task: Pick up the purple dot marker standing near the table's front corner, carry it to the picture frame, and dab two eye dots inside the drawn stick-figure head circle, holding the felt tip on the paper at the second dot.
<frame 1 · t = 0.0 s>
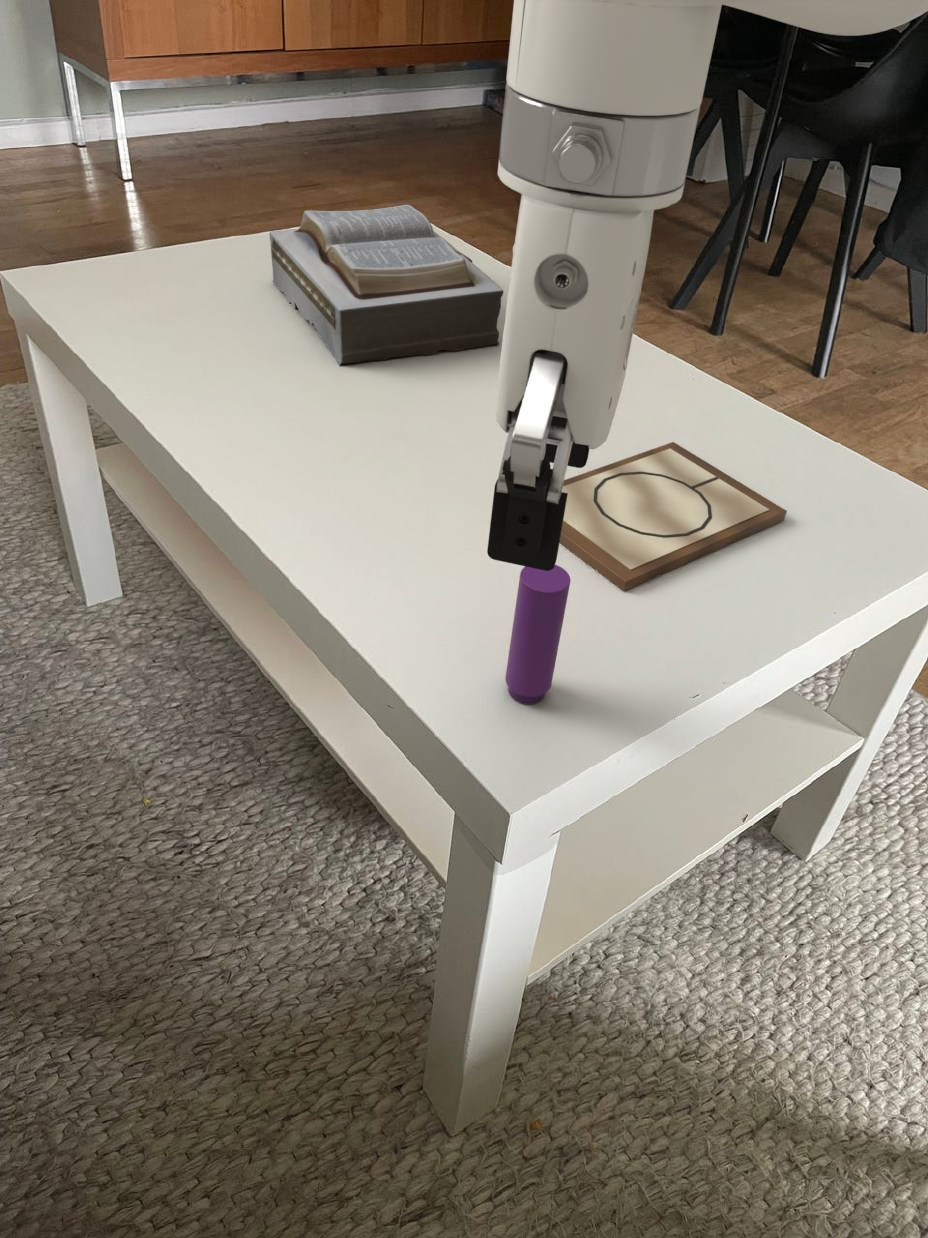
hand: (540, 507, 51), 20 cm above the table, tool pointing down, fingers open, 9 cm apart
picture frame: (649, 513, 89), on the table
bible: (381, 314, 118), on the table
marker: (526, 691, 70), on the table
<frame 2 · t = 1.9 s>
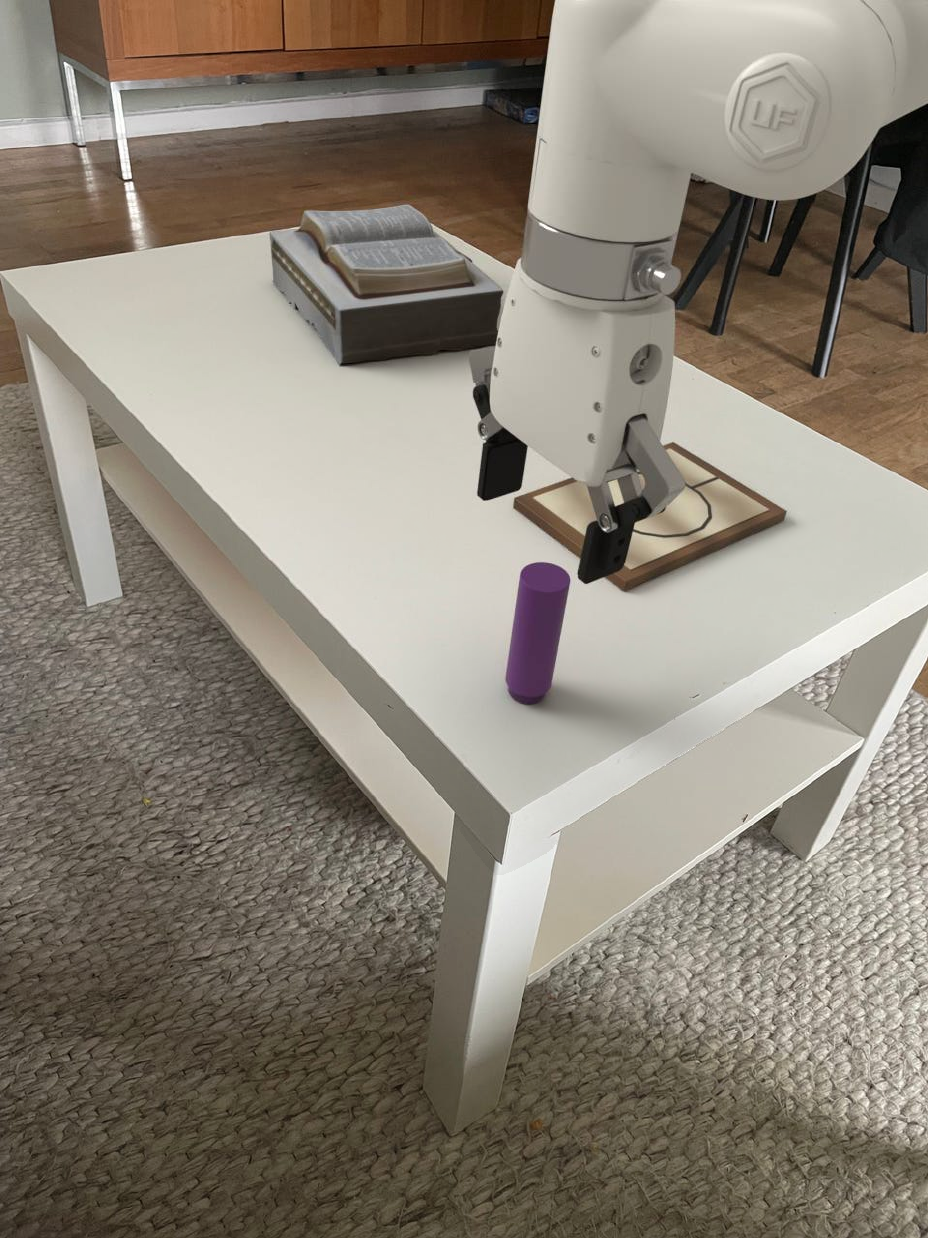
hand: (547, 532, 62), 13 cm above the table, tool pointing down, fingers open, 9 cm apart
nothing on the table moved.
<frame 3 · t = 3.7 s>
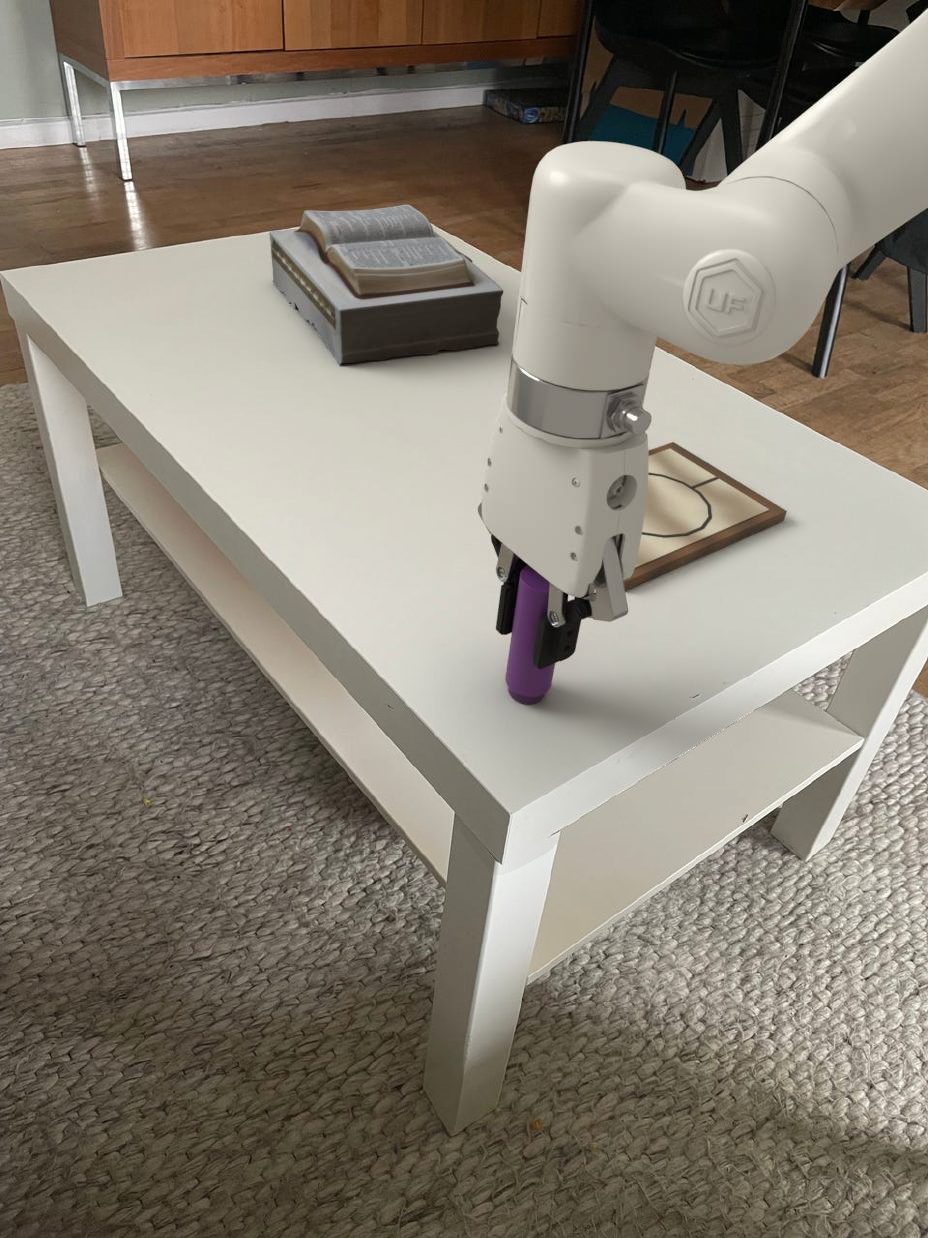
hand: (534, 641, 67), 5 cm above the table, tool pointing down, fingers closed on marker, 3 cm apart
marker: (526, 691, 70), on the table, touching gripper
everything else where it was.
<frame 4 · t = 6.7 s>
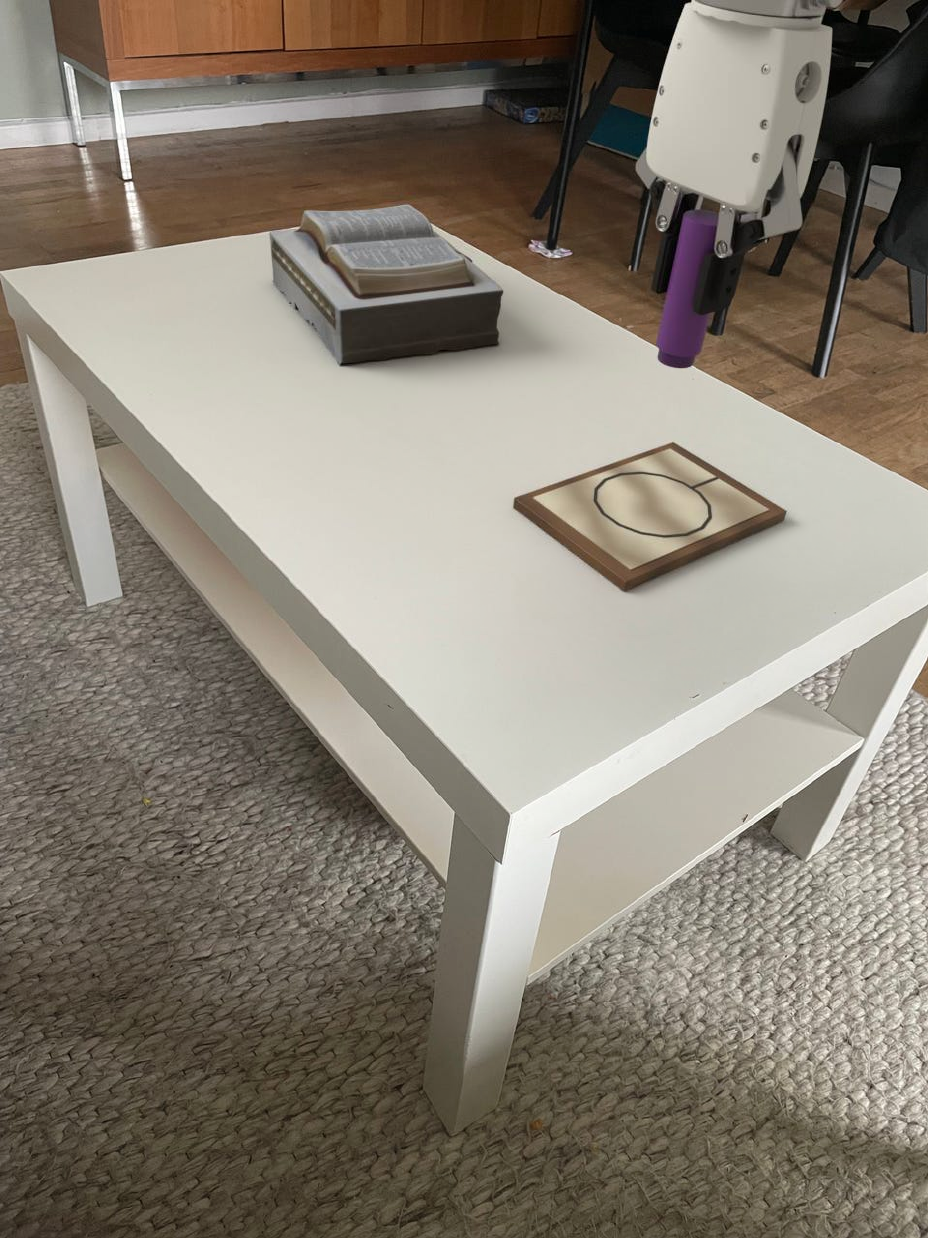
hand: (690, 297, 69), 22 cm above the table, tool pointing down, fingers closed on marker, 3 cm apart
marker: (675, 360, 72), point 18 cm above the table, touching gripper
everything else where it was.
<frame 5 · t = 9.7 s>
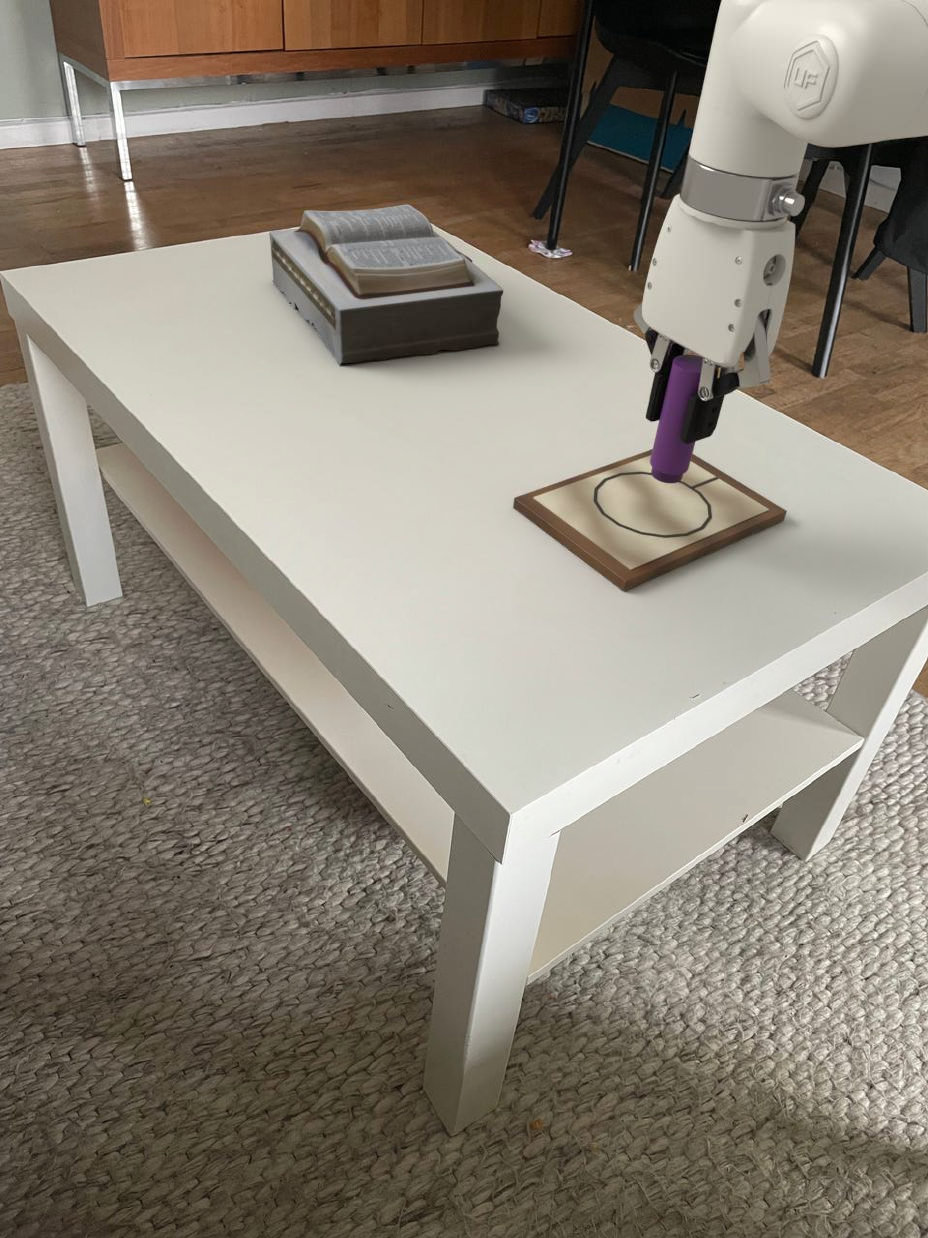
hand: (678, 425, 81), 10 cm above the table, tool pointing down, fingers closed on marker, 3 cm apart
marker: (666, 475, 83), point 5 cm above the table, touching gripper
everything else where it was.
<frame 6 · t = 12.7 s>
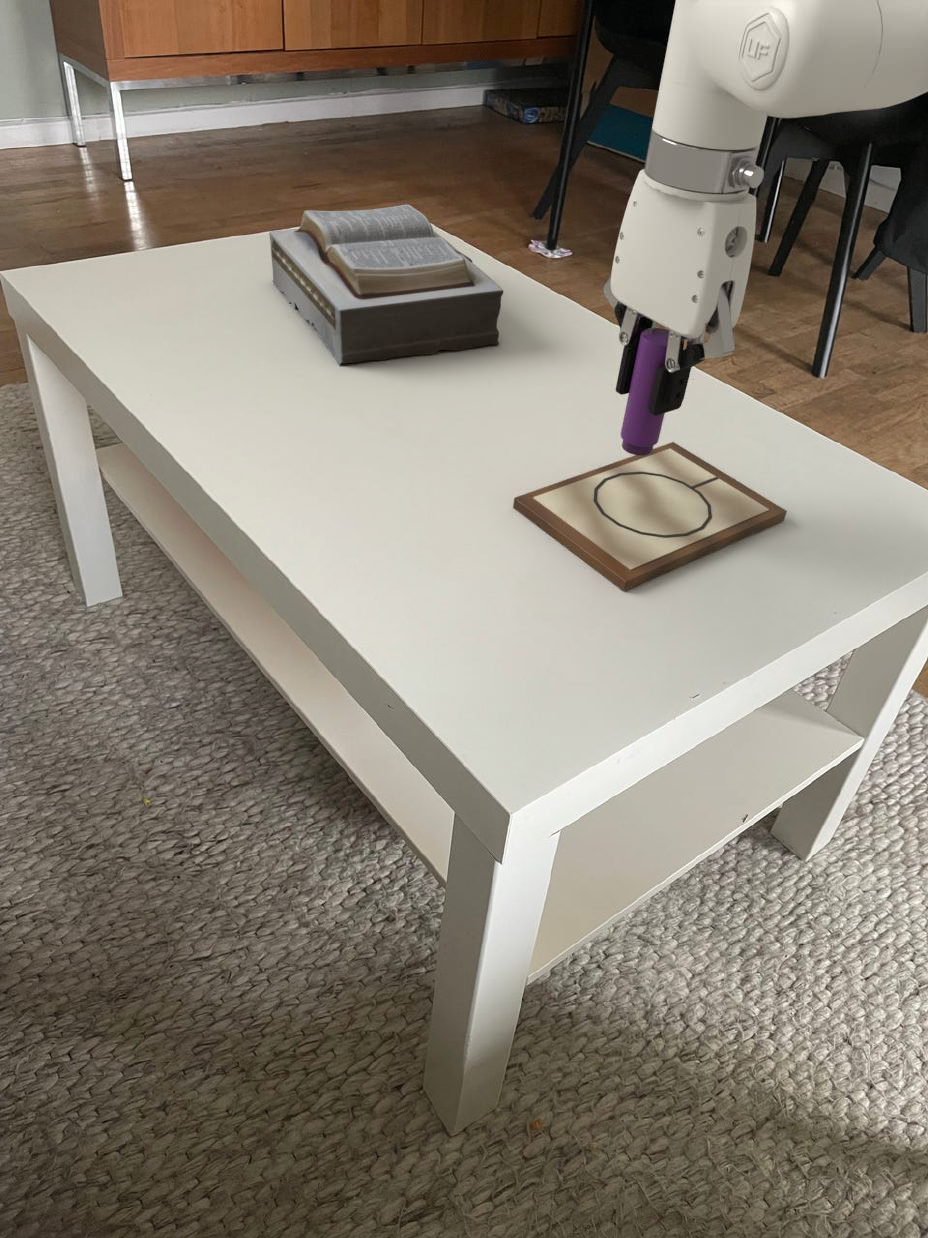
hand: (648, 398, 82), 11 cm above the table, tool pointing down, fingers closed on marker, 3 cm apart
marker: (637, 447, 85), point 6 cm above the table, touching gripper
everything else where it was.
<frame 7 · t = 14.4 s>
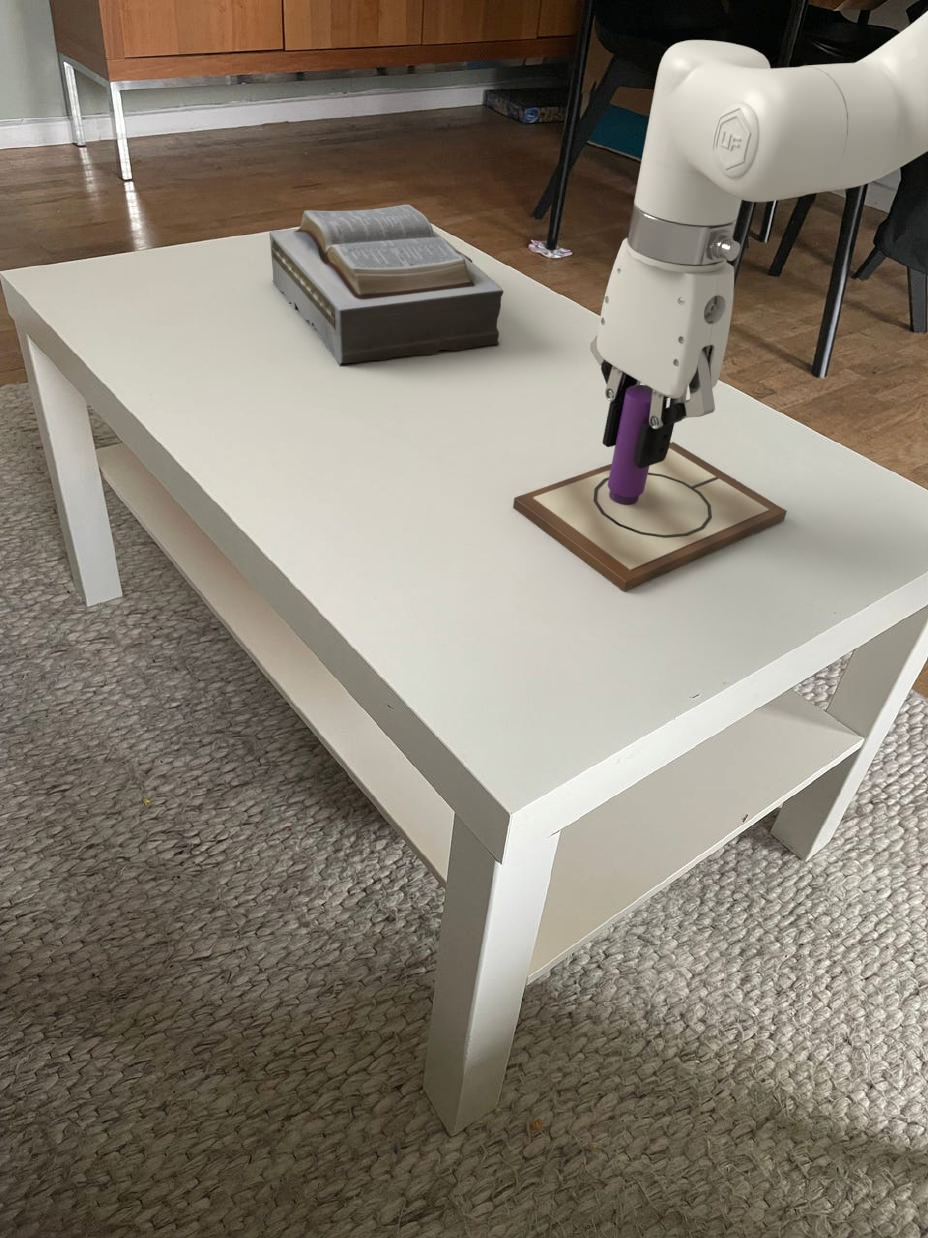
hand: (633, 450, 86), 6 cm above the table, tool pointing down, fingers closed on marker, 3 cm apart
marker: (623, 496, 89), point 1 cm above the table, touching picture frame, gripper
everything else where it was.
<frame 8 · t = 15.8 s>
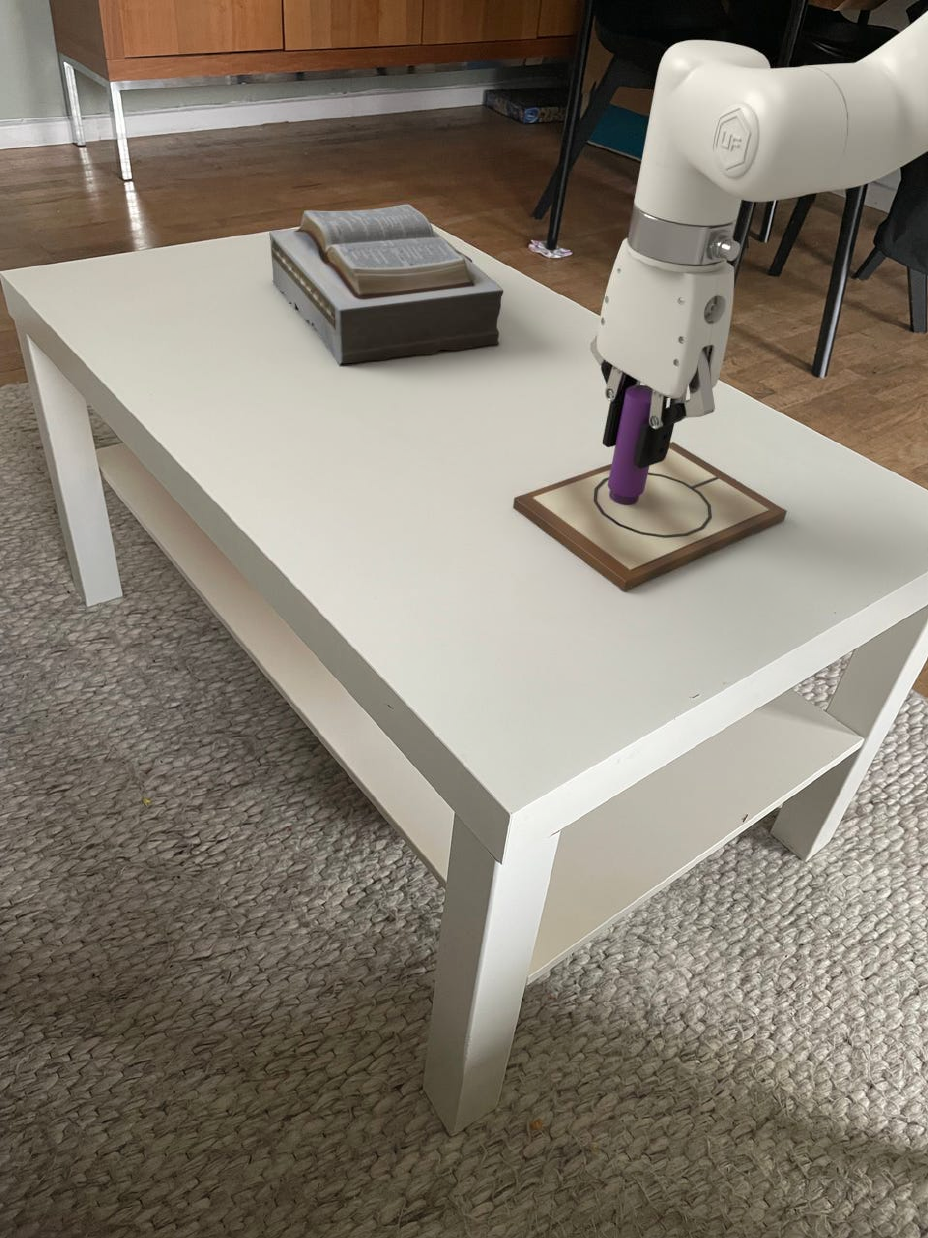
hand: (633, 450, 86), 6 cm above the table, tool pointing down, fingers closed on marker, 3 cm apart
marker: (623, 496, 89), point 1 cm above the table, touching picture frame, gripper
everything else where it was.
at the end: the gripper is holding marker; marker inside the target area on the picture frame (2.6 cm from its centre), point 1.1 cm above the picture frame's base; marker touching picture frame, gripper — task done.
